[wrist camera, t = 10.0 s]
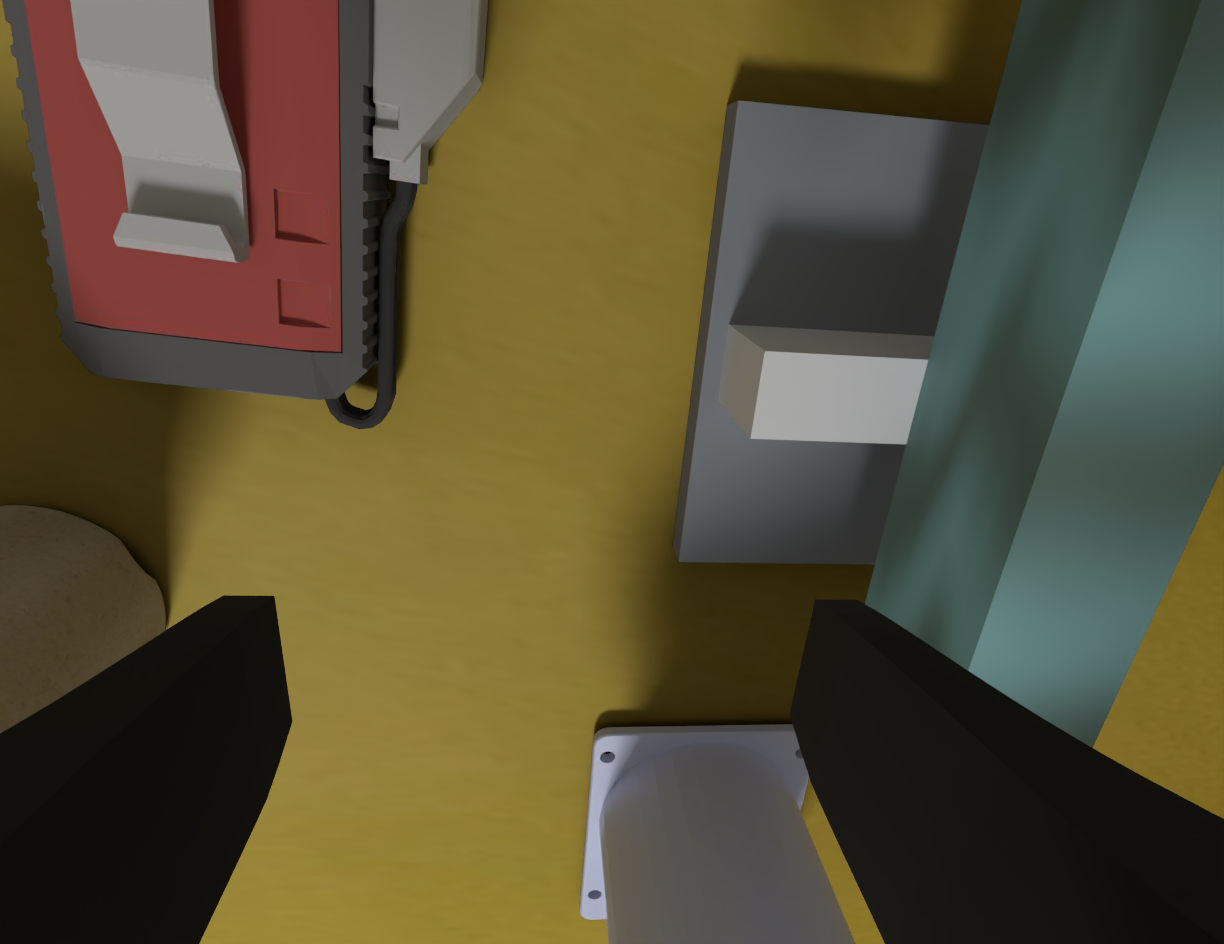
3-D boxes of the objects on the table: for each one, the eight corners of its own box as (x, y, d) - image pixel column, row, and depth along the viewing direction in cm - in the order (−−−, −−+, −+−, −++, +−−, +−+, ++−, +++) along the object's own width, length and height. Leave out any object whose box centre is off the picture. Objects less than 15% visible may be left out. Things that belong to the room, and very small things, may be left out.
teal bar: (962, 683, 19) (1066, 805, 15) (843, 684, 18) (919, 809, 15) (1199, 0, 12) (1472, -76, 9) (1027, -21, 12) (1240, -111, 8)
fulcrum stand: (1029, 551, 22) (1126, 623, 18) (672, 545, 21) (701, 622, 17) (1174, 148, 17) (1343, 139, 14) (726, 105, 16) (782, 81, 12)
